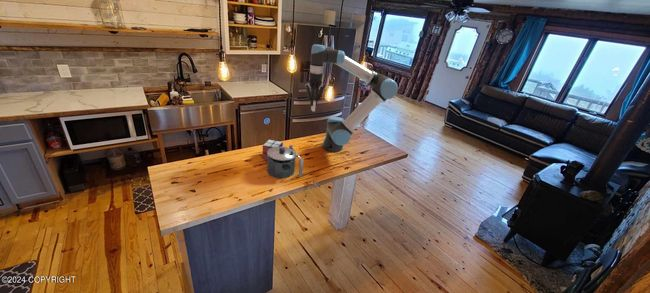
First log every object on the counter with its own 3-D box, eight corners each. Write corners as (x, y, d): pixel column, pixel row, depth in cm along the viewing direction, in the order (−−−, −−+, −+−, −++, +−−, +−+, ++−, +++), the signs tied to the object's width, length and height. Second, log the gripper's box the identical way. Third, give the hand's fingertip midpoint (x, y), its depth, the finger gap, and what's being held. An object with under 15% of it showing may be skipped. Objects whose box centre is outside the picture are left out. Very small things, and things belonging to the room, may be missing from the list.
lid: (292, 148, 169) (292, 142, 167) (301, 160, 156) (302, 154, 154) (263, 149, 161) (264, 143, 159) (271, 163, 148) (272, 156, 146)
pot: (291, 160, 175) (291, 144, 170) (302, 177, 159) (303, 159, 154) (263, 164, 167) (263, 147, 162) (272, 182, 151) (273, 164, 146)
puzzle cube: (277, 162, 172) (277, 148, 168) (262, 159, 173) (262, 145, 169) (282, 155, 181) (283, 141, 176) (268, 152, 182) (268, 139, 178)
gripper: (323, 71, 165) (319, 108, 175) (303, 71, 159) (301, 109, 170) (328, 74, 159) (324, 112, 169) (308, 73, 153) (305, 113, 164)
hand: (313, 110), depth 169 cm, fingers closed
